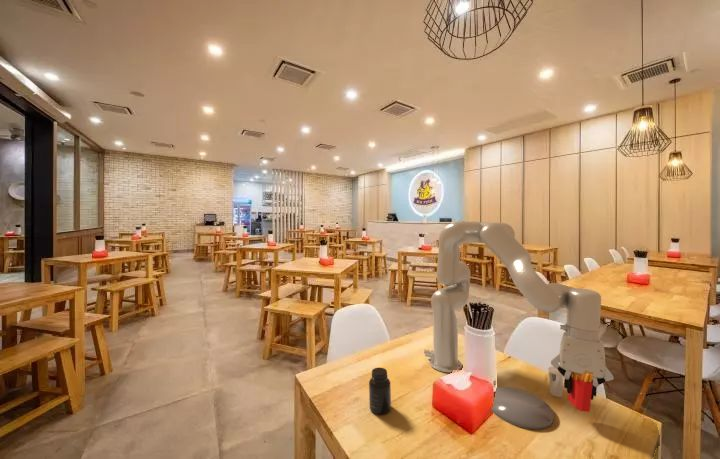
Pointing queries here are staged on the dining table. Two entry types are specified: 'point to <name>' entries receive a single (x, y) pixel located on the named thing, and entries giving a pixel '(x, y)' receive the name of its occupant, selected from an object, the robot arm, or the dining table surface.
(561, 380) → the milkshake
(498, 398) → the plate
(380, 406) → the supplement bottle
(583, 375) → the french fries
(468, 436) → the dining table surface
